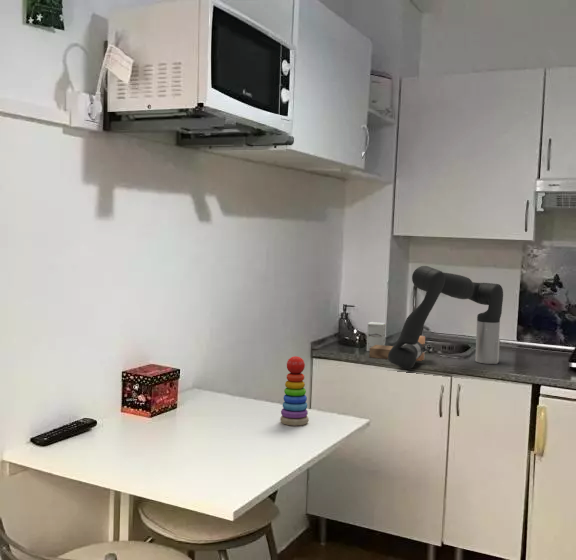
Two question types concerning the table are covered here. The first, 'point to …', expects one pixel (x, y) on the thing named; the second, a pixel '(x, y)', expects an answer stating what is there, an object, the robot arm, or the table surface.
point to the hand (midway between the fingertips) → (419, 345)
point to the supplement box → (375, 334)
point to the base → (380, 351)
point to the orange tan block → (422, 341)
